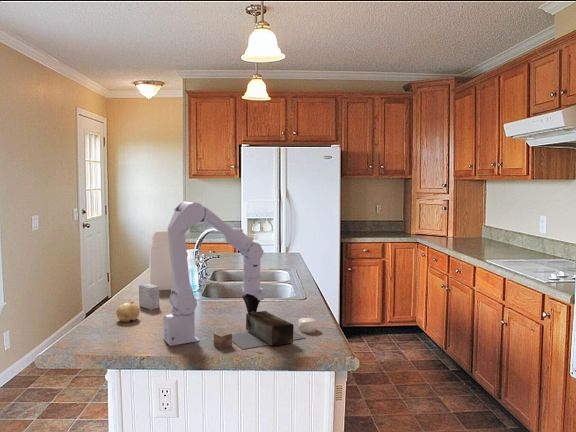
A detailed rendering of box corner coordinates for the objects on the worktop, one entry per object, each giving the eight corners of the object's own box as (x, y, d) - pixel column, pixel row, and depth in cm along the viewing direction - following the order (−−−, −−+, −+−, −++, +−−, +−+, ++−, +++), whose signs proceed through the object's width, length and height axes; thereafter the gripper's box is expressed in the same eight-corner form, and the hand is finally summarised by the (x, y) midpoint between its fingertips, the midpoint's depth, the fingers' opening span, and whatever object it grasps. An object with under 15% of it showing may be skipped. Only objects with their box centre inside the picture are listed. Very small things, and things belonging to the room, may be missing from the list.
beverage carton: (266, 326, 175) (266, 308, 174) (294, 343, 158) (294, 322, 158) (245, 330, 171) (245, 311, 170) (272, 347, 154) (272, 326, 154)
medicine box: (159, 308, 199) (159, 286, 198) (149, 310, 196) (149, 288, 195) (148, 304, 204) (148, 283, 204) (139, 306, 201) (138, 284, 200)
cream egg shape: (304, 334, 168) (304, 323, 168) (295, 329, 174) (295, 319, 173) (319, 331, 171) (319, 321, 171) (310, 326, 176) (310, 316, 176)
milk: (174, 283, 242) (173, 229, 240) (177, 288, 231) (176, 232, 229) (148, 285, 238) (147, 230, 236) (150, 290, 227) (148, 233, 225)
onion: (138, 323, 179) (137, 303, 179) (114, 324, 178) (114, 304, 177) (140, 316, 187) (140, 298, 187) (118, 317, 186) (118, 298, 185)
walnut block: (221, 349, 154) (221, 336, 153) (213, 346, 157) (213, 333, 156) (232, 346, 157) (231, 333, 156) (224, 343, 159) (223, 330, 159)
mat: (242, 349, 153) (242, 349, 153) (225, 336, 165) (225, 335, 165) (305, 338, 164) (305, 337, 164) (284, 326, 176) (284, 325, 176)
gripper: (272, 279, 167) (272, 320, 169) (253, 271, 180) (253, 309, 181) (252, 281, 164) (252, 323, 165) (235, 273, 177) (235, 312, 178)
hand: (251, 316), depth 173 cm, fingers closed
